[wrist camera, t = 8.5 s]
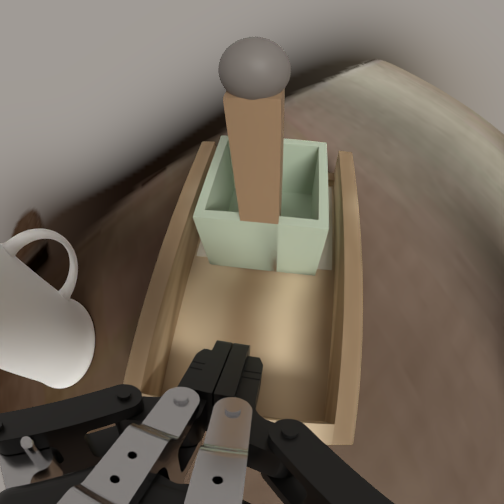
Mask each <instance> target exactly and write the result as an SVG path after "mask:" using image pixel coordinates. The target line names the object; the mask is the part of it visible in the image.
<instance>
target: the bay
mask: <svg viewBox="0 0 504 504" xmlns="http://www.w3.org/2000/svg"><path fill="white" fill-rule="evenodd" d="M215 151H216V145H215V142H202V143H201V146H200V148H199V150H198V153H197V155H196V157H195V160H194V162H193V164H192V167H191V169H190V172H189V174H188V177H187V179H186V182H185V184H184V187H183V189H182V192H181V194H180V197H179V200H178V202H177V205H176V207H175V210H174V213H173V216H172V218H171V221H170V224H169V227H168V229H167V232H166V235H165V238H164V241H163V244H162V247H161V250H160V252H159V255H158V259H157V262H156V265H155V268H154V271H153V274H152V277H151V280H150V284H149V287H148V290H147V294H146V297H145V300H144V304H143V307H142V311H141V314H140V318H139V321H138V325H137V329H136V333H135V336H134V340H133V344H132V348H131V352H130V356H129V360H128V365H127V369H126V373H125V378H124V382H123V384H129V385H133V386H135V387H137V388H138V389H139V390H140V391H141V393H142V396H147V397H161V396H163V394H164V393H165V392H166V391H167V390H169V389H171V388H175V387H177V386H178V385H179V383H180V381H181V379H182V378H183V376H184V374H185V372H186V371H187V369H188V368H189V365H190V364H191V362H192V360H193V359H194V357H195V355H196V354H197V353H198V352H200V351H201V350H203V349H209V350H212V349H213V347H214V345H215V343H216V341H217V340H220V341H226V342H232V343H233V344H234V343H238V344H245V345H250V356H252V357H259V358H260V359H261V361H262V364H263V371H262V378H261V386H260V392H259V397H258V402H257V407H256V411H257V412H258V414H259V415H260V416H261V417H263V418H264V419H266V420H269V421H271V422H274V423H275V422H276V421H278V420H282V419H294V420H298V421H300V422H302V423H304V424H305V425H306V426H307V427H308V428H309V429H310V430H311V431H312V432H313V433H314V434H315V435H316V436H317V437H318V438H319V439H320V440H321V441H323V442H324V443H325V444H326V445H353V440H354V433H355V425H356V417H357V408H358V398H359V387H360V374H361V357H362V332H363V275H362V249H361V232H360V219H359V207H358V197H357V187H356V178H355V170H354V163H353V155H352V152H345V151H339V153H338V157H337V162H336V167H335V172H334V173H329V172H328V196H329V230H328V234H327V237H326V241H325V244H324V248H323V251H322V254H321V258H320V261H319V264H318V268H317V271H316V274H315V276H313V275H303V274H294V273H284V272H275V271H265V270H256V269H247V268H238V267H229V266H220V265H212V264H210V263H209V260H208V258H207V255H206V252H205V250H204V247H203V244H202V241H201V239H200V236H199V233H198V230H197V228H196V225H195V222H194V219H193V215H194V211H195V208H196V205H197V202H198V199H199V196H200V194H201V191H202V188H203V185H204V182H205V179H206V176H207V173H208V171H209V168H210V165H211V162H212V160H213V157H214V154H215Z"/></svg>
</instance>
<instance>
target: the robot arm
mask: <svg viewBox="0 0 504 504" xmlns="http://www.w3.org/2000/svg"><path fill="white" fill-rule="evenodd" d="M262 371H263V364H262V361H261V359H260V358H259V357H252V356H250V345H245V344H238V343H234V344H233V343H232V342H226V341H220V340H217V341H216V343H215V345H214V347H213V349H212V350H209V349H203V350H201V351H200V352H198V353H197V354H196V355H195V357H194V359H193V360H192V362H191V364H190V365H189V368H188V369H187V371H186V372H185V374H184V376H183V378H182V379H181V381H180V383H179V385H178V386H177V387H175V388H171V389H169V390H167V391H166V392H165V393H164V394H163V396H161V397H147V396H142V393H141V391H140V390H139V389H138V388H137V387H135V386H133V385H129V384H121V385H117V386H113V387H110V388H106V389H103V390H100V391H96V392H92V393H89V394H85V395H81V396H78V397H74V398H70V399H66V400H62V401H58V402H54V403H50V404H45V405H41V406H36V407H32V408H27V409H22V410H17V411H12V412H6V413H1V414H0V465H1V470H2V475H3V479H4V483H5V487H6V489H5V490H4V491H2V492H1V493H0V504H250V503H248V502H246V501H244V500H242V499H243V491H244V483H245V474H246V466H247V467H250V468H252V469H254V470H257V471H259V472H261V475H262V477H263V479H264V480H265V481H266V482H267V484H268V485H269V486H270V487H271V489H272V490H273V491H274V492H275V493H276V495H277V496H278V497H279V498H280V499H281V501H282V502H283V503H284V504H394V503H393V502H391V501H390V500H389V499H388V498H386V497H385V496H384V495H383V494H381V493H380V492H379V491H378V490H377V489H375V488H374V487H373V486H372V485H371V484H369V483H368V482H367V481H366V480H365V479H364V478H362V477H361V476H360V475H359V474H358V473H357V472H355V471H354V470H353V469H352V468H351V467H350V466H349V465H348V464H346V463H345V462H344V461H343V460H342V459H341V458H340V457H339V456H338V455H336V454H335V453H334V452H333V451H332V450H331V449H330V448H329V447H328V446H327V445H326V444H325V443H324V442H323V441H321V440H320V439H319V438H318V437H317V436H316V435H315V434H314V433H313V432H312V431H311V430H310V429H309V428H308V427H307V426H306V425H305V424H304V423H302V422H300V421H298V420H294V419H282V420H278V421H276V422H275V423H274V422H271V421H269V420H266V419H264V418H263V417H261V416H260V415H259V414H258V412H257V411H256V407H257V402H258V397H259V392H260V386H261V378H262ZM113 423H115V424H116V426H113V427H110V428H107V429H104V430H100V431H97V432H94V433H90V434H86V433H87V432H88V431H91V430H94V429H97V428H101V427H104V426H107V425H110V424H113ZM205 431H207V434H206V438H205V441H204V445H201V444H202V438H203V435H204V433H205ZM197 453H198V455H197ZM196 455H197V458H196V462H195V465H194V469H193V473H192V476H191V480H190V483H189V484H184V479H185V476H186V474H187V472H188V470H189V469H190V467H191V465H192V463H193V461H194V459H195V457H196Z"/></svg>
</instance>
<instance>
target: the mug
mask: <svg viewBox="0 0 504 504" xmlns="http://www.w3.org/2000/svg"><path fill="white" fill-rule="evenodd" d="M39 239H53V240H56V241H58V242H60V243H61V244H63V245H64V247H65V248H66V250H67V252H68V254H69V259H70V268H69V273H68V277H67V280H66V282H65V284H64V285H63V287H62V288H61V289H60V290H59V291H58V290H56V289H55V288H54V287H52V286H51V285H50V284H48V283H47V282H46V281H45V280H43V279H42V278H41V277H40V276H38V275H37V274H36V273H35V272H33V271H32V270H31V269H30V268H29V267H27V266H26V265H25V264H24V263H23V262H21V261H20V260H19V259H18V258H17V257H16V256H15V255H16V254H17V252H18V251H19V250H20V249H21V248H22V247H23V246H25V245H26V244H28V243H30V242H32V241H35V240H39ZM77 276H78V262H77V257H76V254H75V251H74V249H73V247H72V246H71V244H70V243H69V242H68V241H67V239H65V238H64V237H63V236H62V235H60V234H59V233H57V232H55V231H52V230H48V229H31V230H27V231H24V232H21V233H19V234H17V235H15V236H14V237H12V238H11V239H9V240H8V241H6V242H5V243H2V244H1V243H0V369H2V370H5V371H8V372H11V373H14V374H17V375H20V376H23V377H27V378H30V379H33V380H37V381H40V382H42V383H44V384H46V385H47V386H50V387H53V388H66V387H69V386H72V385H73V384H75V383H76V382H78V381H79V380H80V379H81V378H82V377H83V376H84V374H85V373H86V371H87V370H88V368H89V366H90V363H91V361H92V358H93V354H94V348H95V331H94V326H93V322H92V320H91V317H90V315H89V313H88V312H87V310H86V309H85V308H84V307H83V306H82V305H81V304H80V303H79V302H77V301H75V300H73V299H70V297H71V294H72V292H73V290H74V287H75V284H76V281H77Z"/></svg>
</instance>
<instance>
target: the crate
mask: <svg viewBox="0 0 504 504" xmlns="http://www.w3.org/2000/svg"><path fill="white" fill-rule="evenodd" d="M290 74H291V66H290V61H289V58H288V56H287V54H286V53H285V51H284V50H283V49H282V48H281V47H280V46H279V45H278V44H276V43H275V42H273V41H271V40H269V39H266V38H261V37H249V38H244V39H241V40H238V41H236V42H235V43H233V44H232V45H230V46H229V47H228V48H227V49H226V50H225V52H224V53H223V55H222V57H221V59H220V62H219V77H220V80H221V83H222V84H223V86H224V88H225V89H226V90H227V91H226V93H225V95H224V97H223V102H224V109H225V116H226V123H227V131H228V136H221V138H220V141H219V143H218V146H217V149H216V151H215V154H214V157H213V160H212V162H211V165H210V168H209V171H208V173H207V176H206V179H205V182H204V185H203V188H202V191H201V194H200V196H199V199H198V202H197V205H196V208H195V211H194V215H193V219H194V222H195V225H196V228H197V230H198V233H199V236H200V239H201V241H202V244H203V247H204V250H205V252H206V255H207V258H208V260H209V263H210V264H212V265H220V266H229V267H238V268H247V269H256V270H265V271H275V272H284V273H294V274H303V275H313V276H315V274H316V271H317V268H318V264H319V261H320V258H321V254H322V251H323V248H324V244H325V241H326V237H327V234H328V230H329V196H328V163H327V143H324V142H315V141H305V140H295V139H284V92H285V91H284V90H285V87H286V85H287V83H288V81H289V79H290Z"/></svg>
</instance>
